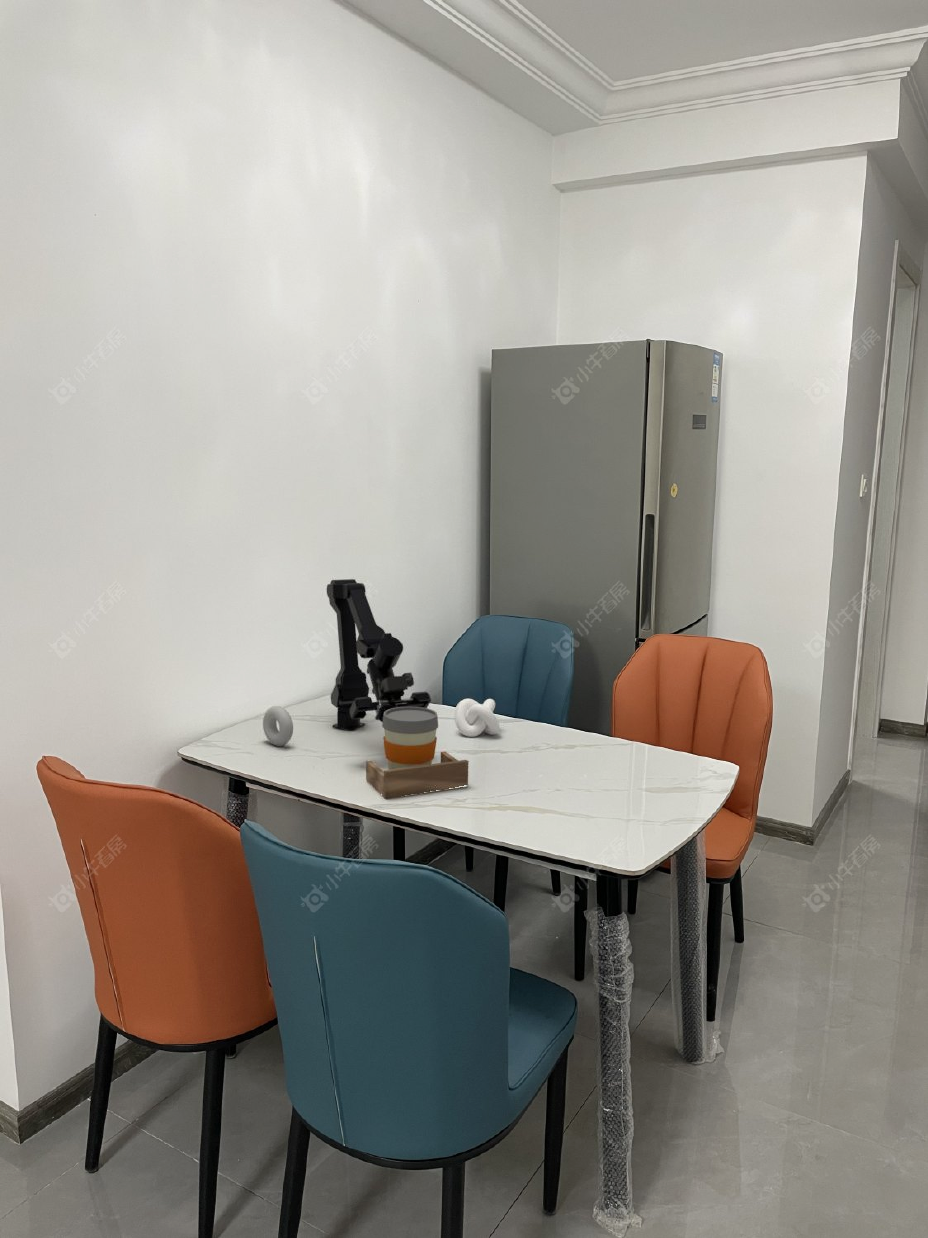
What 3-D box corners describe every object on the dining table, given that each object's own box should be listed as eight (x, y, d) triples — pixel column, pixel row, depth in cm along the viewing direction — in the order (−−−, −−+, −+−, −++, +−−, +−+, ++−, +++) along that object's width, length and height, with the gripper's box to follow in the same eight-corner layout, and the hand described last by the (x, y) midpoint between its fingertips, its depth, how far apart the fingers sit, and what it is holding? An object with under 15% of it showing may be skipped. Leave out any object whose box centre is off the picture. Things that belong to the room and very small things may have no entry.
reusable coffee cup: (370, 777, 213) (370, 713, 210) (410, 764, 222) (411, 703, 219) (408, 791, 205) (409, 725, 202) (448, 778, 214) (450, 714, 211)
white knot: (459, 741, 241) (460, 707, 239) (449, 728, 252) (450, 695, 251) (502, 739, 244) (503, 706, 242) (490, 726, 255) (491, 694, 253)
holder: (366, 780, 211) (366, 754, 210) (445, 770, 219) (445, 745, 218) (385, 799, 200) (385, 772, 199) (467, 787, 208) (468, 761, 207)
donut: (296, 748, 232) (296, 709, 230) (285, 751, 230) (284, 711, 228) (271, 739, 239) (270, 701, 237) (260, 742, 236) (259, 703, 234)
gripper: (353, 664, 215) (370, 723, 208) (428, 658, 223) (447, 715, 215) (343, 689, 224) (358, 747, 216) (415, 683, 232) (432, 739, 224)
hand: (399, 736), depth 218 cm, fingers closed, pressing on reusable coffee cup
